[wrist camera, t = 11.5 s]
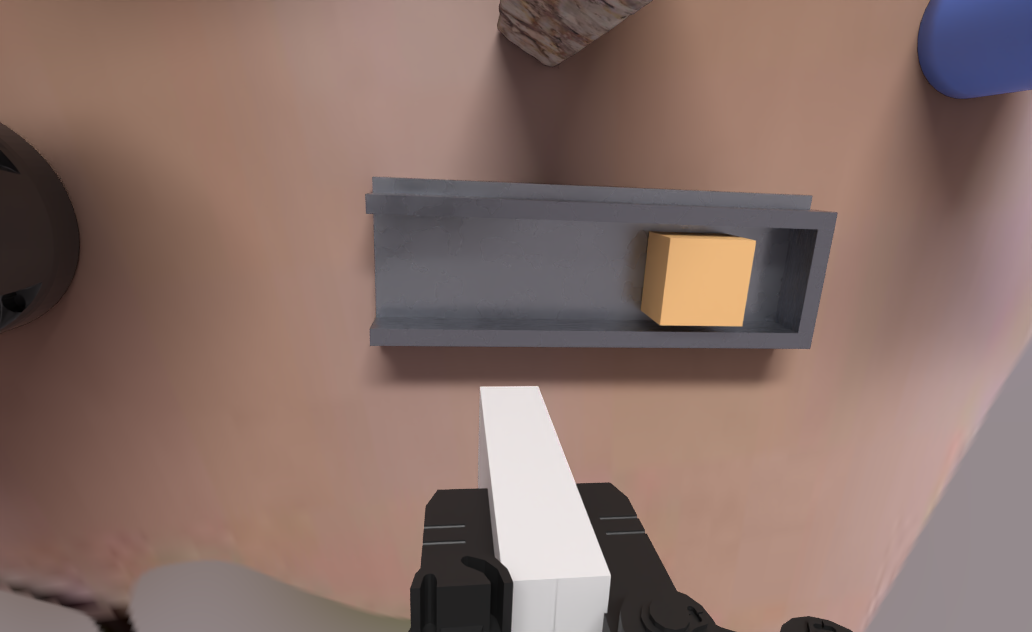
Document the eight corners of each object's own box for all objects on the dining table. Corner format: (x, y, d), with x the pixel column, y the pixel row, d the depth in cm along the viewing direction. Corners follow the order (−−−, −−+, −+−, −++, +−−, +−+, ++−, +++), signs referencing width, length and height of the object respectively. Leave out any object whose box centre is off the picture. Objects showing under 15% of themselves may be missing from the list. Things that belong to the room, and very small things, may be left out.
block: (640, 310, 40) (659, 325, 36) (649, 231, 38) (670, 237, 34) (715, 311, 41) (742, 326, 37) (726, 233, 39) (756, 240, 35)
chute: (379, 341, 39) (370, 359, 36) (374, 176, 36) (364, 177, 32) (776, 344, 43) (807, 361, 39) (804, 195, 40) (840, 197, 36)
